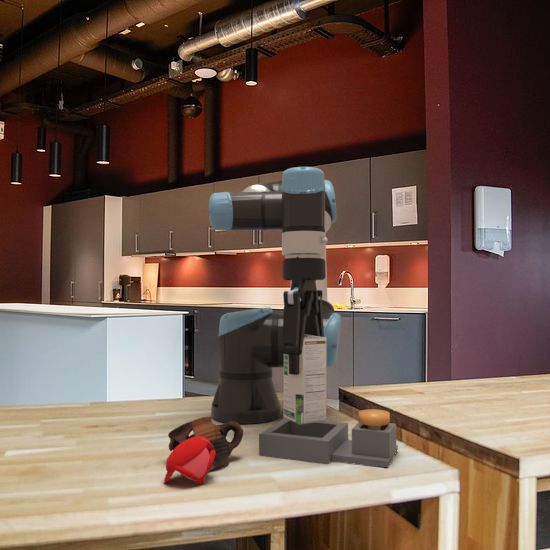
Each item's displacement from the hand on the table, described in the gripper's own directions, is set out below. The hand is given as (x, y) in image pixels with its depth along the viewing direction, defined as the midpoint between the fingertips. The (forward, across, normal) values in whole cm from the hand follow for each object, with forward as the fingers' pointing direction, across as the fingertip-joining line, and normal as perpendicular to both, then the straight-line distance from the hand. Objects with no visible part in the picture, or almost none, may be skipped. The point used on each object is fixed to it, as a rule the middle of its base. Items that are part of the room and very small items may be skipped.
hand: (304, 388), depth 91 cm
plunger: (+9, 0, -12) cm, 15 cm away
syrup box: (+5, 0, 0) cm, 5 cm away
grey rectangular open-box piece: (+10, 0, -5) cm, 11 cm away
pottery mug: (+11, -12, +12) cm, 20 cm away
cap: (+10, -20, +10) cm, 25 cm away
